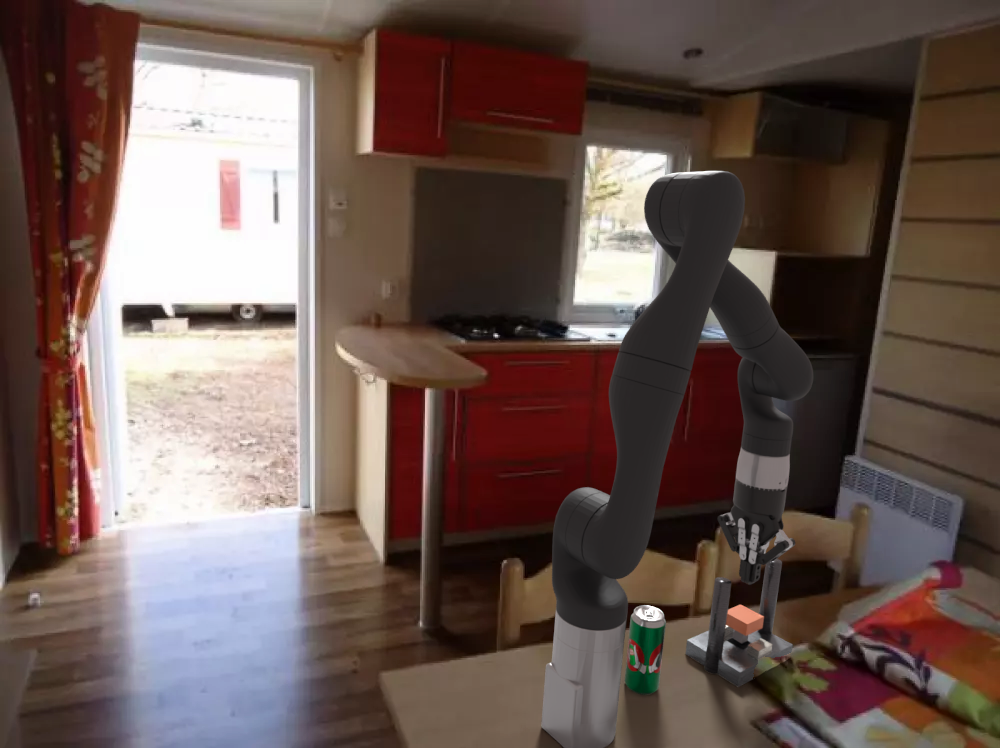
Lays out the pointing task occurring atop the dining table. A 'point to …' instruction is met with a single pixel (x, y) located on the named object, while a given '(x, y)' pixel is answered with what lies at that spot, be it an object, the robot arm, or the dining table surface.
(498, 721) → the dining table surface
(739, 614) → the button
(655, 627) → the soda can
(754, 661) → the twin post stand
